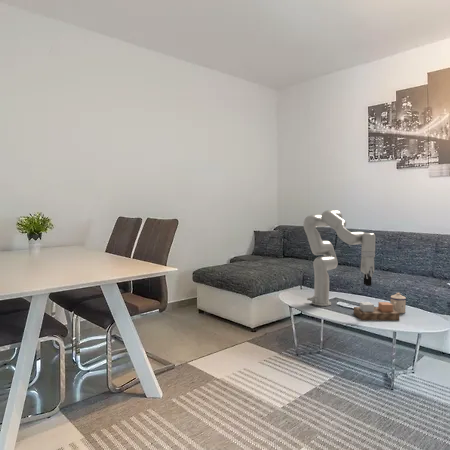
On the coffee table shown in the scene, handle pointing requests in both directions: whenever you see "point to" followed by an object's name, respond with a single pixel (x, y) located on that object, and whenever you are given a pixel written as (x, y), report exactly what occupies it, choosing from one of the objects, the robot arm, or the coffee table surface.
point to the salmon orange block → (385, 307)
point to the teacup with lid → (398, 302)
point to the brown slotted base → (376, 314)
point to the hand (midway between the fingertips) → (367, 284)
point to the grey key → (366, 307)
